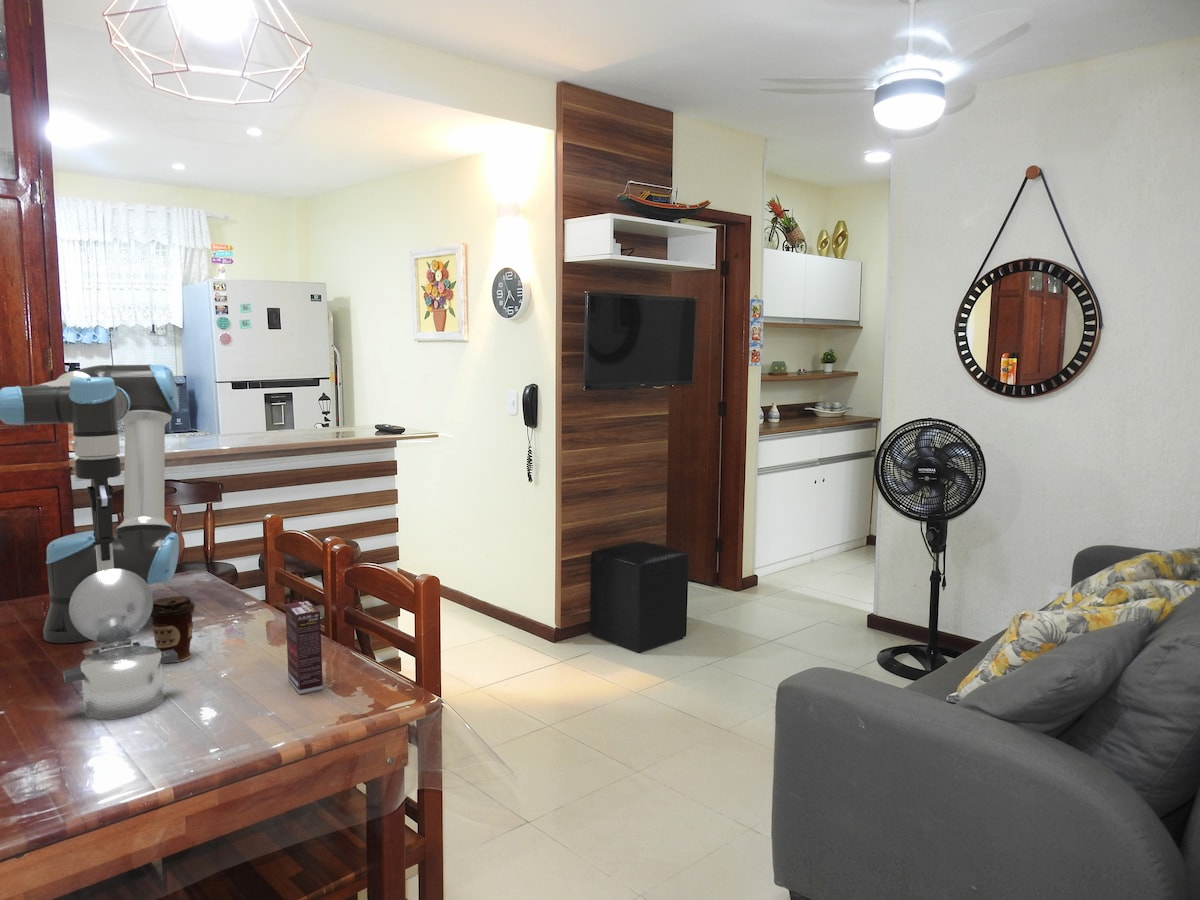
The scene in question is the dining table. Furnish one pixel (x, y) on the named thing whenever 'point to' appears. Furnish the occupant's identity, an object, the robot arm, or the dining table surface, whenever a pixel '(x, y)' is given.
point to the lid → (111, 607)
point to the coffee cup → (173, 625)
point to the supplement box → (304, 647)
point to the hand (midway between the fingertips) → (106, 575)
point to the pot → (121, 681)
